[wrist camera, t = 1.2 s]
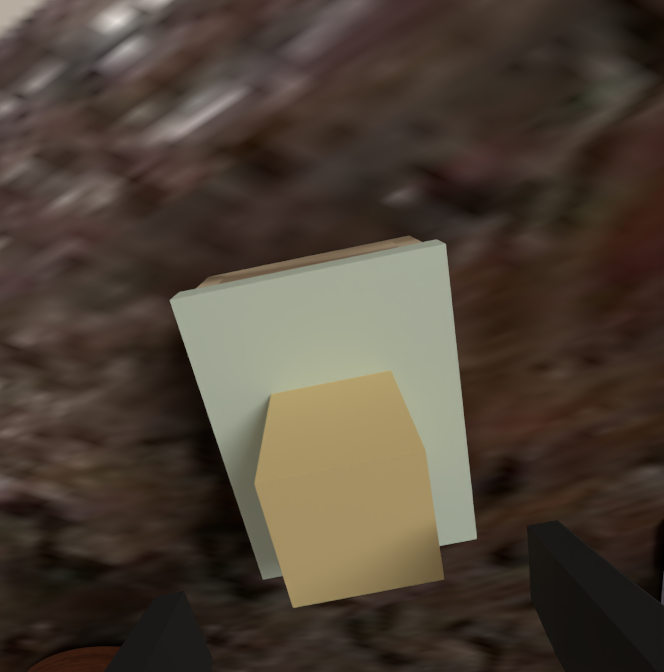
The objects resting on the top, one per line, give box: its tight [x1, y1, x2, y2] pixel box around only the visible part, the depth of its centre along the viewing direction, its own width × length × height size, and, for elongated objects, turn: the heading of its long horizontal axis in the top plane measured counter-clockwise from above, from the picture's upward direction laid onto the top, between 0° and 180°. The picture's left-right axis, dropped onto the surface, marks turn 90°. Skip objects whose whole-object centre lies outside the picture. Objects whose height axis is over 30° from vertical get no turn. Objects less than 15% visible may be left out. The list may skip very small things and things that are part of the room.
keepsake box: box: [196, 236, 422, 289], centre depth 17 cm, size 11×8×3 cm
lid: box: [170, 240, 477, 608], centre depth 13 cm, size 11×8×6 cm
